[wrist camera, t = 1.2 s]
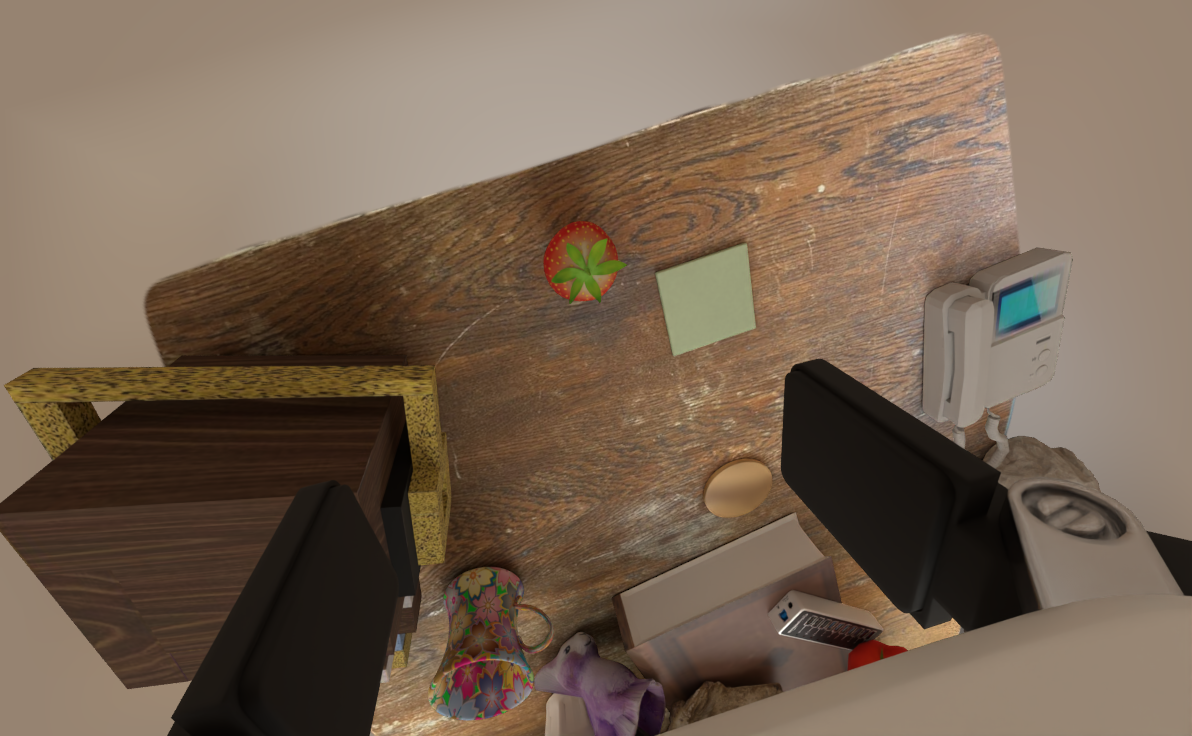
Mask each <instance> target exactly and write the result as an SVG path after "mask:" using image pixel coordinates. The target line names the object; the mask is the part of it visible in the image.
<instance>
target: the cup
mask: <svg viewBox="0 0 1192 736" xmlns="http://www.w3.org/2000/svg"><path fill="white" fill-rule="evenodd" d="M545 736H595V734H594V730H593V727H592V725H591V722H590V719H589V716H588V713H587V709H586V705H585V702H584V699H583V698H581V697H575V696H568V695H562V694H556V693H554V694H553V695H552V696H551V697H550V698H549V700H548V701H547V703H546V729H545Z"/></svg>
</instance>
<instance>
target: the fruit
mask: <svg viewBox="0 0 1192 736" xmlns="http://www.w3.org/2000/svg"><path fill="white" fill-rule="evenodd" d="M625 266H627V264H625V263H623V262H620V261H618V256H617V251H616V248H615V245H614V244H613V242H612V240H611V239H610V238H609V236H608V235H607V234H606V233H605V232H604V231H603V230H602V229H601V228H600V227H599V226H597V225H596V224H594V223H591V222H587V221H577V222H573V223H570V224H568V225H566V226H565V227H563V228H562V229H561V230H559V231H558V233H557V234H556V235H555V236H554V237H553V238H552V240H551V241H550V243H549V245H548V247H547V249H546V252H545V254H544V272H545V275H546V278H547V280H548V282H549V284H550V286H551V287H552V288H553V290H554V291H555V292H556V293H557V294H559V295H560V296H562V297H564V298H566V299H569V304H571V303H572V302H573V300H575V301H589V300H594V299H597V300H598V301H599V303H600V302H601V296H602V295H603V294H605V293H606V292H607V290H608V289H609V288H610V287H611V285H612V284H613V282H614V280H615V278H616V275H617V271H618V270H620V269H622V268H623V267H625Z"/></svg>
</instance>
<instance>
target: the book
mask: <svg viewBox="0 0 1192 736" xmlns="http://www.w3.org/2000/svg"><path fill="white" fill-rule="evenodd" d="M791 590H795V591H799V592H802V593H806V594H809V595H813V596H817V597H820V598H824V599H827V600H831V601H835V602H838V603H842V602H841V598H840V593H839V589H838V584H837V580H836V575H835V571H834V566H833V562H832V557H831V556H825V557H824V556H823V554H822V553H821V552H820V551H819V550H818V548H817V547H816V546H815V545H814V544H813V542H812V541H811V540H810V538H809V537H808V536H807V535H806V533H805V532H804V531H803V530H802V528H801V527H800V526H799V522H798V518H797V515H796V512H795V513H793V514H791V515H789V516H786V517H784V518H782V519H780V520H778V521H776V522H773V523H771V524H769V525H767V526H765V527H763V528H761V529H758V530H756V531H754V532H752V533H750V534H748V535H746V536H743V537H741V538H739V539H737V540H735V541H733V542H731V543H728V544H726V545H724V546H722V547H720V548H718V549H715V550H713V551H711V552H709V553H707V554H705V555H703V556H700V557H698V558H696V559H694V560H692V561H690V562H688V563H685V564H683V565H681V566H679V567H677V568H675V569H673V570H670V571H668V572H666V573H664V574H662V575H660V576H657V577H655V578H653V579H651V580H649V581H647V582H645V583H642V584H640V585H638V586H636V587H634V588H632V589H630V590H627V591H625V592H623V593H621V594H619V595H617V596H614V597H612V600H613V604H614V608H615V612H616V616H617V620H618V624H619V628H620V632H621V636H622V640H623V644H624V648H625V652H626V653H627V654H628V656H629V657H630V658H631V660H632V661H633V662H634V664H635V665H636V667H637V668H638V669H639V671H640V672H641V673H642V675H643V676H644V678H645V679H653V680H655V682H658V683H660V684H661V685H662V688H663V691H664V696H665V703H666V708H667V709H668V710H669V712H670V711H671V708H672V706H673V704H674V703H675V702H678V701H680V700H683V701H685V702H686V701H687V700H688V699H689V697H690V696H692V695H693V694H694V693H695V692H696V690H698V689H699V688H700V686H701V685H702V684H703V683H704V682H705V681H711V682H713V683H715V682H717V681H719V682H721V683H722V684H723V685H724V686H725V687H726V688H727V687H731V688H733V687H740V686H755V685H762V684H768V683H777V682H778V683H780V685H781V687H782V690H783V692H786V691H789V690H792V689H795V688H798V687H801V686H804V685H807V684H810V683H813V682H816V681H819V680H822V679H825V678H828V677H831V676H834V675H837V674H840V673H843V672H846V671H848V656H849V653H850V652H851V651H852V650H848V649H844V648H839V647H834V646H830V645H825V644H821V643H816V642H812V641H807V640H802V639H798V638H793V637H789V636H784V635H780V634H779V633H778V632H777V630H776V628H775V626H774V625H773V623H772V621H771V619H770V617H769V616H768V613H769V612H770V611H771V610H772V609H773V608H774V607H775V606H776V605H777V604H778V602H779V601H780V600H781V599H782V598H783V597H784V596H785V595H786V594H787V593H788V592H789V591H791Z"/></svg>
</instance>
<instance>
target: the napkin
mask: <svg viewBox="0 0 1192 736" xmlns="http://www.w3.org/2000/svg"><path fill="white" fill-rule="evenodd" d="M655 275H656V280H657V285H658V289H659V294H660V299H661V303H662V308H663V313H664V317H665V322H666V327H667V331H668V336H669V341H670V345H671V350H672V354H673V356H676V355H679V354H682V353H685V352H688V351H691V350H693V349H696V348H699V347H702V346H705V345H708V344H711V343H714V342H717V341H719V340H722V339H725V338H728V337H731V336H734V335H737V334H740V333H743V332H746V331H748V330H751V329H754V328H756V325H755V316H754V307H753V297H752V288H751V278H750V269H749V259H748V250H747V243H742V244H739V245H736V246H733V247H730V248H727V249H724V250H721V251H718V252H715V253H712V254H709V255H706V256H703V257H700V258H697V259H694V260H691V261H688V262H685V263H682V264H679V265H676V266H673V267H670V268H667V269H664V270H661V271H658V272H655Z"/></svg>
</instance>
